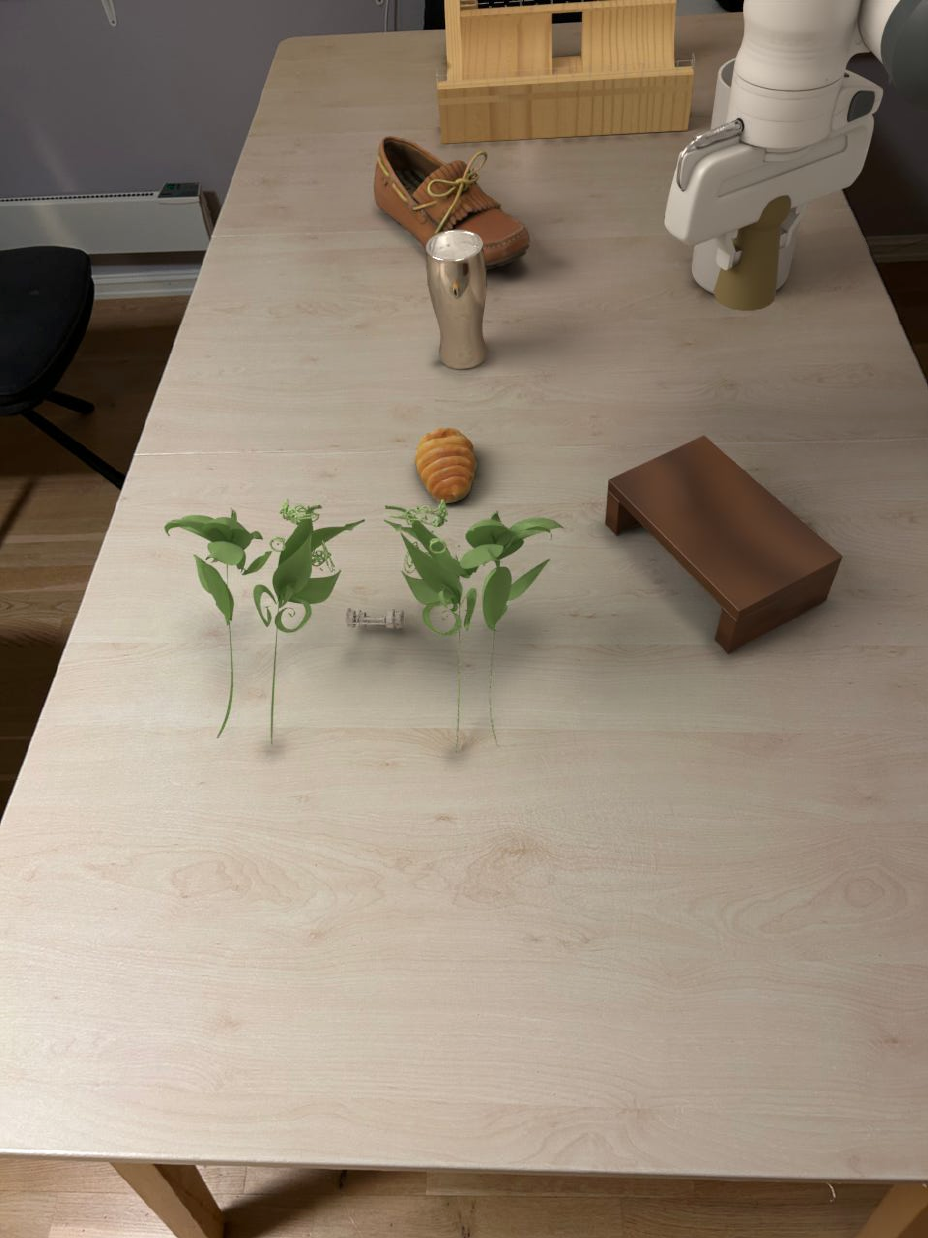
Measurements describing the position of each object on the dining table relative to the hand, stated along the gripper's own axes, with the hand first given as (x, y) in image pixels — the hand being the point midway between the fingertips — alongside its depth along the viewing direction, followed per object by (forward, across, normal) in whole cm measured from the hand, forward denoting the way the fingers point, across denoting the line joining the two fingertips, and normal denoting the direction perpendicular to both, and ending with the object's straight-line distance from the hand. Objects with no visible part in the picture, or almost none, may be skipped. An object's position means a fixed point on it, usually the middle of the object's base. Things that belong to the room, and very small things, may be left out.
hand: (752, 255), depth 90 cm
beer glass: (+22, -18, +28) cm, 40 cm away
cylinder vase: (+21, +21, +23) cm, 38 cm away
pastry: (+22, -30, +10) cm, 38 cm away
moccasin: (+22, -6, +53) cm, 58 cm away
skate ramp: (+22, +32, +85) cm, 93 cm away
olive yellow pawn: (+4, 0, 0) cm, 4 cm away
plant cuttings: (+22, -48, -10) cm, 54 cm away
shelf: (+21, -13, -16) cm, 30 cm away
